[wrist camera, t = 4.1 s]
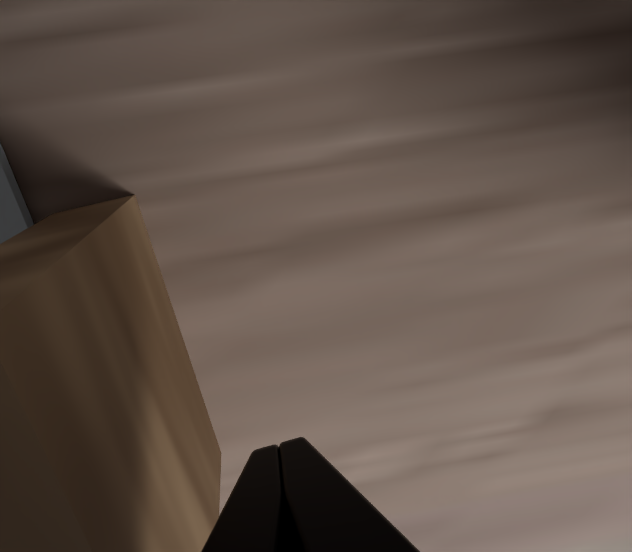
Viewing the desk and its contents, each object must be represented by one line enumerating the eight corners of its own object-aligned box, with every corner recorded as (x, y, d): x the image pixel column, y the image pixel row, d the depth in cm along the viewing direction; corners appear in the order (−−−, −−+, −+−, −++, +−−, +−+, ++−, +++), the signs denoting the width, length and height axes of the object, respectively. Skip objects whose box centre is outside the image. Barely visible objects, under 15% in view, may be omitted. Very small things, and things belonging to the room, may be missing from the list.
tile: (134, 194, 12) (-17, 324, 5) (221, 452, 15) (208, 791, 8) (43, 215, 12) (-263, 385, 5) (147, 473, 15) (59, 841, 7)
